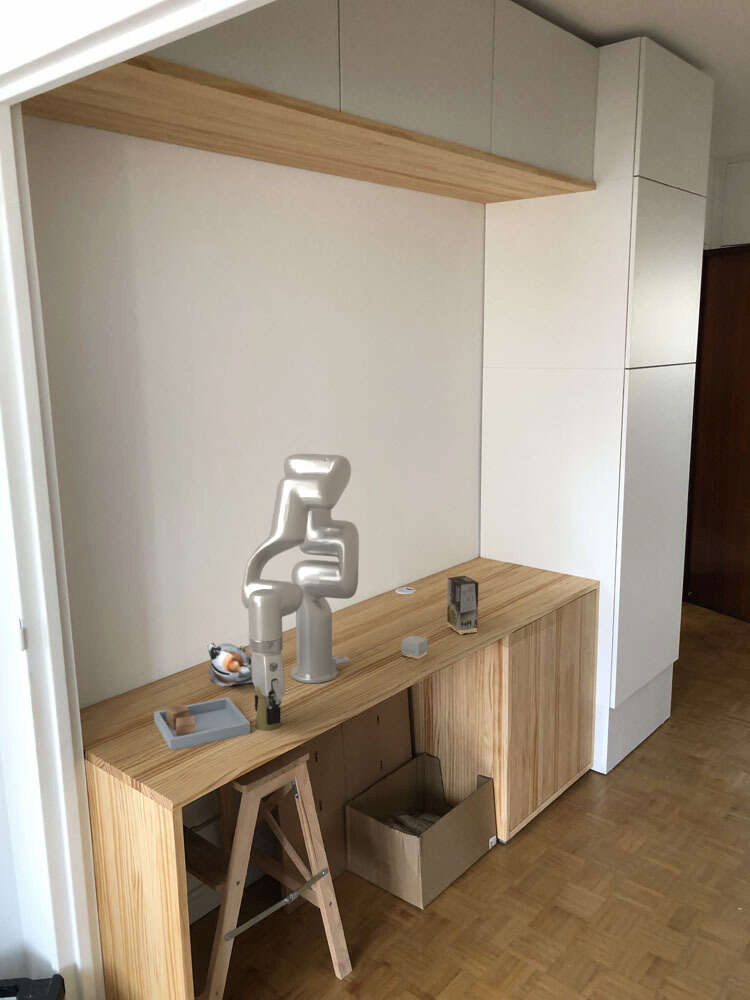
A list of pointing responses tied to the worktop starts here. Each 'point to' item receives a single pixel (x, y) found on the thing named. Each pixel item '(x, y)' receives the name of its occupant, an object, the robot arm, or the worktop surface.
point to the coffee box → (462, 602)
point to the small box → (414, 646)
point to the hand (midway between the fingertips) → (267, 716)
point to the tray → (206, 724)
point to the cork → (263, 713)
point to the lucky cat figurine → (229, 665)
